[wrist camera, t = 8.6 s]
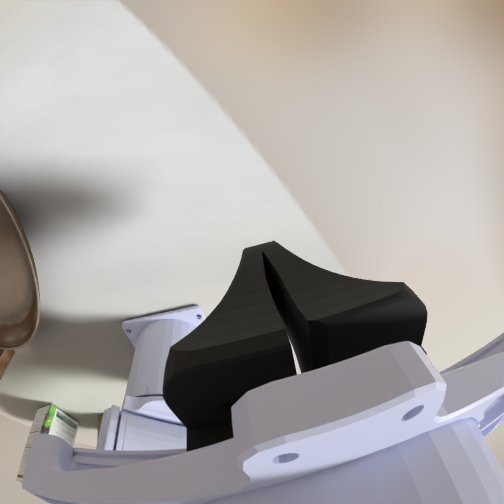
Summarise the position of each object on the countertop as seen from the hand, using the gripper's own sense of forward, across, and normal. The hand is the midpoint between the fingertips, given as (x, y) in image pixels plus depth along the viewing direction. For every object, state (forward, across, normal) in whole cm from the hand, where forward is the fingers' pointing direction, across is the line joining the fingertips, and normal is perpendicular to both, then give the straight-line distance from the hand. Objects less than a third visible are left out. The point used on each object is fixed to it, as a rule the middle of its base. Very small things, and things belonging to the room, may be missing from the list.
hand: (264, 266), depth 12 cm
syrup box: (+10, +36, +24) cm, 44 cm away
